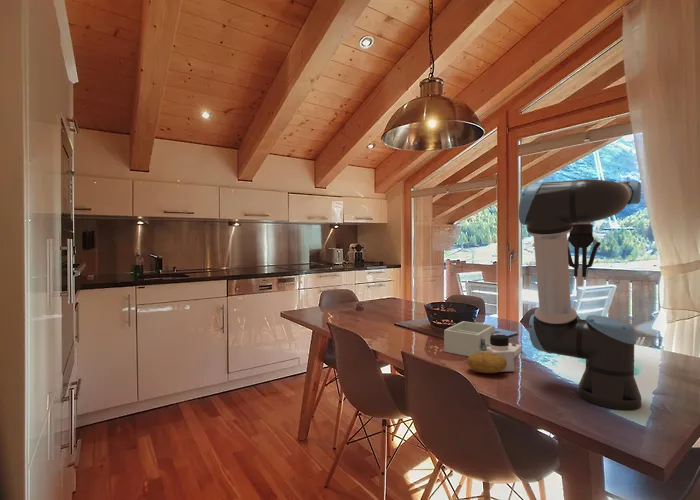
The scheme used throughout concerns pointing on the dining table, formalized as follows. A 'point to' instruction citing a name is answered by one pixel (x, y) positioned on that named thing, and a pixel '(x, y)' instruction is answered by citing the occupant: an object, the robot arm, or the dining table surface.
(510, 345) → the white flat block
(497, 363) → the potato
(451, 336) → the open box
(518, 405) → the dining table surface
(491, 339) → the medicine bottle
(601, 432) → the dining table surface
